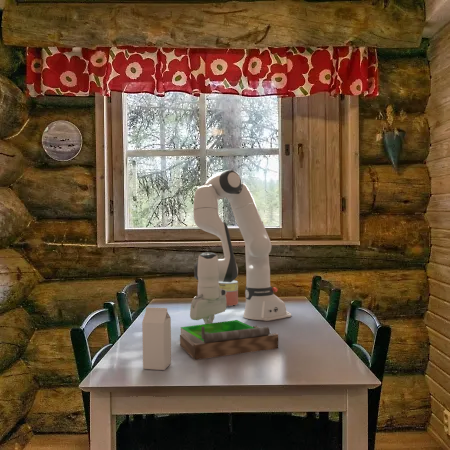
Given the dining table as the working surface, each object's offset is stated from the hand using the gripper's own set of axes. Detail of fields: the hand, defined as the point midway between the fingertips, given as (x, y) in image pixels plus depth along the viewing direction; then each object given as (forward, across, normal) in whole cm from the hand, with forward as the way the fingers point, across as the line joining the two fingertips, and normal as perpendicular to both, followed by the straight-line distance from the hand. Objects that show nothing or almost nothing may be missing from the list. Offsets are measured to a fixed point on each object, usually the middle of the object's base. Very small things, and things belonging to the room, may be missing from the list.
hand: (208, 326), depth 188 cm
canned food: (+3, +52, +26) cm, 58 cm away
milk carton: (+3, -41, -10) cm, 42 cm away
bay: (+3, -11, -17) cm, 21 cm away
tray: (+4, -7, -12) cm, 14 cm away
